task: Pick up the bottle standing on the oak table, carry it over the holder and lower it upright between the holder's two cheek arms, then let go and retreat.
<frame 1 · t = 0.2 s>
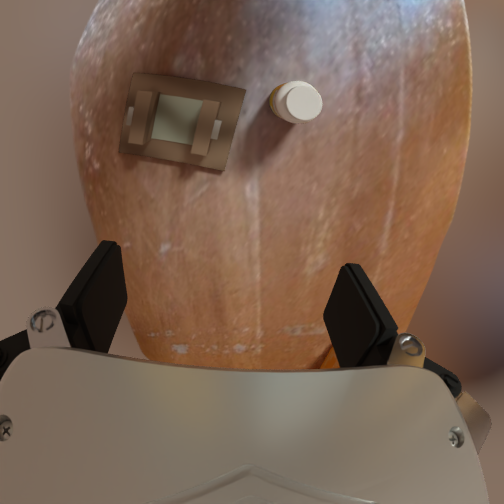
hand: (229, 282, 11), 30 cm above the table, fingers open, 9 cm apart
holder: (179, 118, 34), on the table
supplement bottle: (287, 101, 34), on the table
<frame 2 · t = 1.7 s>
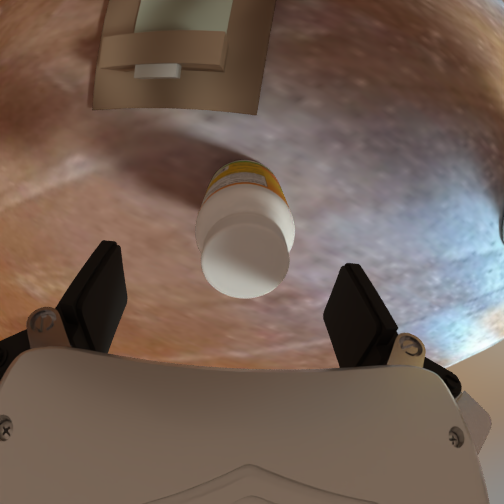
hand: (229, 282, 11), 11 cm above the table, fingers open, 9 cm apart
holder: (187, 8, 13), on the table
supplement bottle: (244, 192, 21), on the table
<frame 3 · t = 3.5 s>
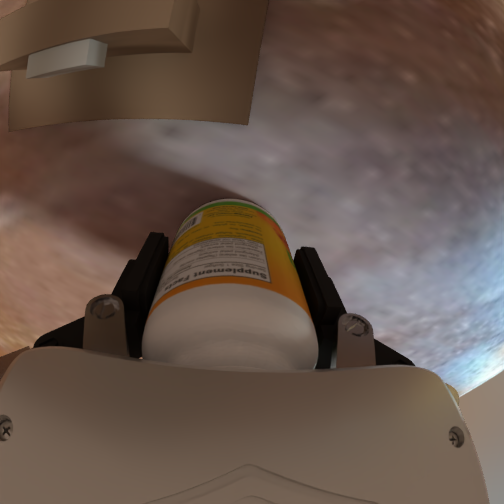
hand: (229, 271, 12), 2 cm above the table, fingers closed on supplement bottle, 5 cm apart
supplement bottle: (230, 245, 14), on the table, touching gripper
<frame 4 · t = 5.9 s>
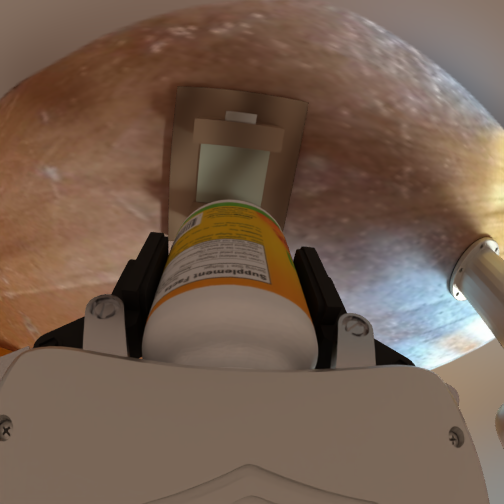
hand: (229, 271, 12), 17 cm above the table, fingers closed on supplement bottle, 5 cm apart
holder: (232, 170, 26), on the table
supplement bottle: (230, 246, 14), point 15 cm above the table, touching gripper
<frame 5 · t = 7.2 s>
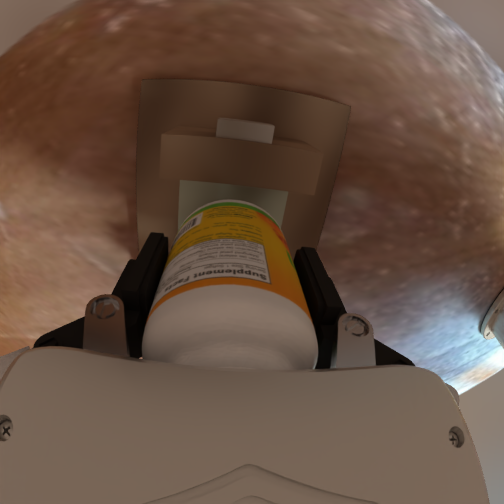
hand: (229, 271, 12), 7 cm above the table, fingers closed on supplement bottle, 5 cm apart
holder: (230, 209, 18), on the table
supplement bottle: (230, 246, 14), point 5 cm above the table, touching gripper
when the fingers open (4 cm above the table, at t = 8.4 s): supplement bottle drops 1 cm, resting on holder.
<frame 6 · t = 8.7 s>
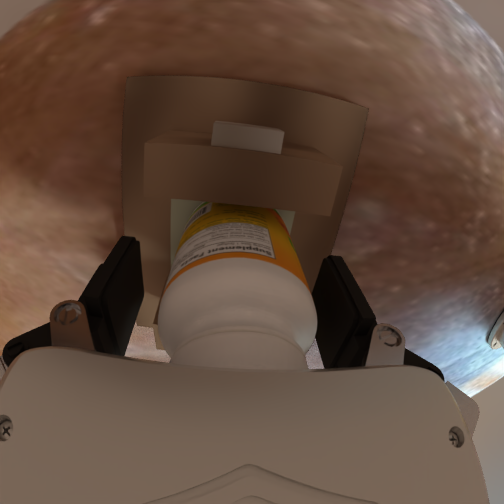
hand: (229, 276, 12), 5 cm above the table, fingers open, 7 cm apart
holder: (230, 225, 16), on the table
supplement bottle: (235, 235, 15), point 1 cm above the table, touching holder
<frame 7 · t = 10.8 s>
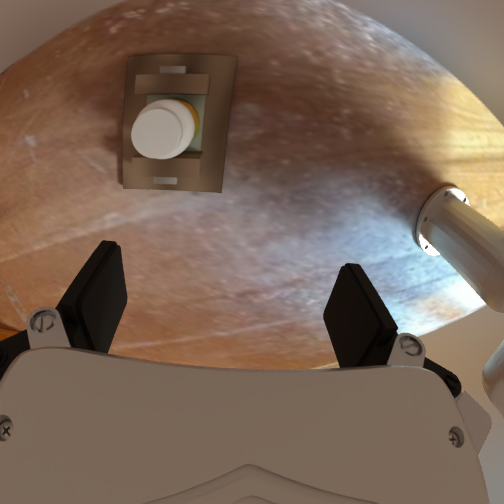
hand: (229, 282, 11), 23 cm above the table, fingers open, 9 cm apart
holder: (175, 121, 27), on the table
supplement bottle: (176, 122, 27), point 1 cm above the table, touching holder
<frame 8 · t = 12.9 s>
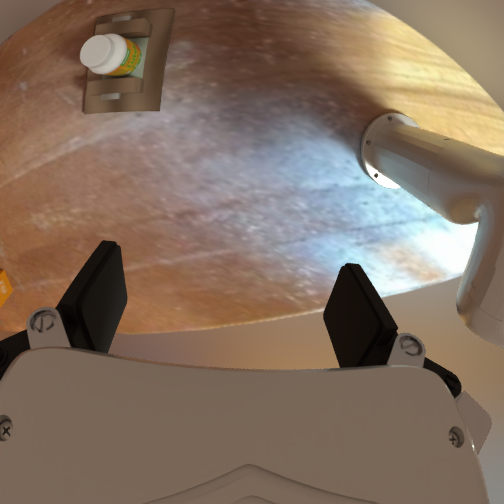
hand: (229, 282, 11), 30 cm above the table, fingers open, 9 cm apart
holder: (126, 60, 28), on the table
supplement bottle: (126, 59, 28), point 1 cm above the table, touching holder
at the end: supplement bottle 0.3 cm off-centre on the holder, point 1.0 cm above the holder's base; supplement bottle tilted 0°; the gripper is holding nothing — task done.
